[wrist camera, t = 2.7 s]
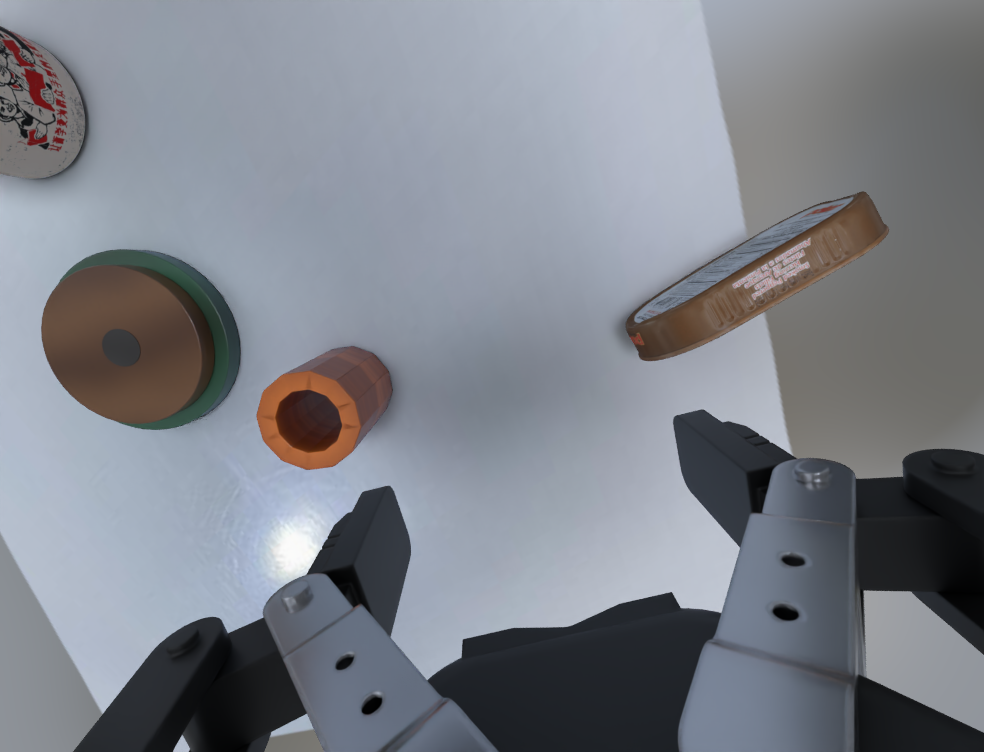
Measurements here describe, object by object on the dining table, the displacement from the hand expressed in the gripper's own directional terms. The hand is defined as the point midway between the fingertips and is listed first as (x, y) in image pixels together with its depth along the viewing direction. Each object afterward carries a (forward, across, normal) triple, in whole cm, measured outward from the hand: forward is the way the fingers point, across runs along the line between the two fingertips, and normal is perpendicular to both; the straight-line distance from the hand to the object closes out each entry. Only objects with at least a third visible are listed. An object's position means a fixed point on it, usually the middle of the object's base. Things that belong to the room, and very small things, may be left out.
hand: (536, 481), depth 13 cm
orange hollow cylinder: (+22, +12, 0) cm, 25 cm away
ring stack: (+23, +25, -7) cm, 35 cm away
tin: (+21, -15, -1) cm, 26 cm away
